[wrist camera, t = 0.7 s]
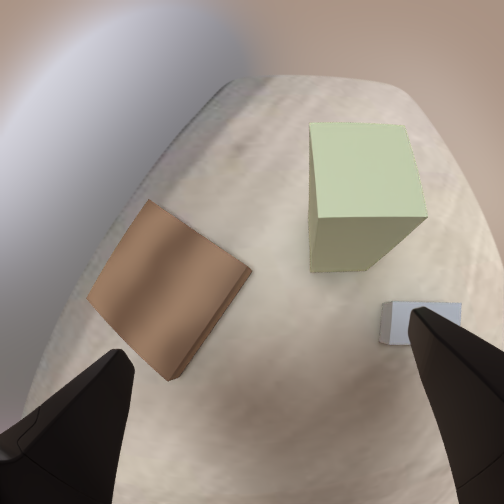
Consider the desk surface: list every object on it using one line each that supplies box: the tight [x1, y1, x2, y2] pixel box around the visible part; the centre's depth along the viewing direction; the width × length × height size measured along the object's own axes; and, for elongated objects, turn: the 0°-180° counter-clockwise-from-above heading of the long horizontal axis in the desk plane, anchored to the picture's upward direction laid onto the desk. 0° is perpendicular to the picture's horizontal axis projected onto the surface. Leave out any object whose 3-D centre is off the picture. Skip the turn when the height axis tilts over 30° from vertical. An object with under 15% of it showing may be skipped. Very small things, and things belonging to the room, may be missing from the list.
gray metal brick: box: [379, 301, 461, 345], centre depth 18 cm, size 6×3×3 cm, turn 83°
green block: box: [308, 122, 428, 273], centre depth 16 cm, size 4×4×12 cm
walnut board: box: [86, 199, 252, 381], centre depth 22 cm, size 11×11×2 cm
